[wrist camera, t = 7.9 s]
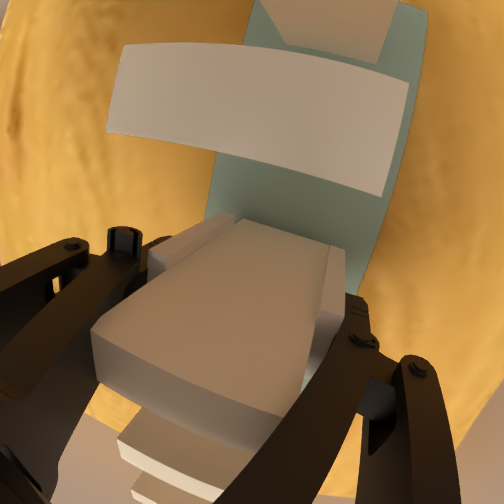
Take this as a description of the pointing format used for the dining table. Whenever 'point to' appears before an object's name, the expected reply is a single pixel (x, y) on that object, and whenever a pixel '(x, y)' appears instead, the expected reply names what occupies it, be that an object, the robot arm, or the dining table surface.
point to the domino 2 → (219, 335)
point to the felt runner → (311, 187)
